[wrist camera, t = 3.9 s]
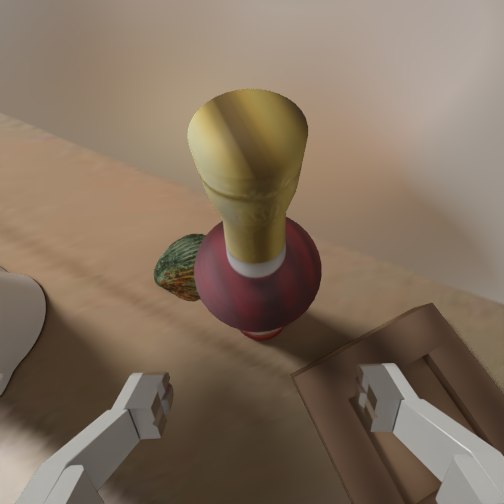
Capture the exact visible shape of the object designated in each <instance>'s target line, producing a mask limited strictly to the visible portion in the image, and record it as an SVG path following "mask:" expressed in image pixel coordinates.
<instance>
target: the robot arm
mask: <svg viewBox="0 0 504 504" xmlns="http://www.w3.org/2000/svg"><path fill="white" fill-rule="evenodd" d="M45 313H46V303H45V297H44V294H43V291H42V289H41V288H40V286H39V285H38V284H37V283H36V282H35V281H34V280H33V279H32V278H30V277H28V276H25V275H22V274H16V273H9V272H6V271H5V270H4V269H3V268H1V267H0V395H1V394H2V393H3V391H4V390H5V388H6V386H7V384H8V382H9V380H10V378H11V375H12V373H13V371H14V369H15V368H16V367H17V365H18V364H19V363H20V362H21V361H22V359H23V358H24V357H25V356H26V355H27V353H28V352H29V351H30V349H31V348H32V347H33V345H34V343H35V342H36V340H37V338H38V336H39V334H40V332H41V329H42V326H43V323H44V319H45ZM355 371H356V374H357V377H356V378H354V392H355V395H356V398H357V401H358V403H359V404H360V405H361V406H362V407H363V408H364V413H363V415H364V417H365V420H366V422H367V424H368V427H369V429H370V431H371V432H393V434H394V435H395V436H396V437H397V438H398V439H399V440H400V441H401V442H402V443H403V444H404V445H405V446H406V447H407V448H408V449H409V450H410V451H411V452H412V453H413V454H414V455H415V456H416V457H417V458H418V459H419V460H420V461H421V462H422V463H423V464H424V465H425V466H426V467H427V468H428V469H429V470H430V471H431V472H432V473H433V474H434V475H435V476H436V477H437V478H438V479H439V480H440V481H441V482H442V484H441V486H440V488H439V491H438V493H437V495H436V498H435V499H436V501H437V503H438V504H504V456H503V455H502V454H501V452H499V451H498V450H496V449H495V448H493V447H492V446H491V445H489V444H488V443H486V442H485V441H483V440H482V439H480V438H479V437H478V436H476V435H475V434H473V433H472V432H470V431H469V430H467V429H466V428H465V427H463V426H462V425H460V424H459V423H457V422H456V421H454V420H453V419H452V418H450V417H449V416H447V415H446V414H444V413H443V412H441V411H440V410H439V409H437V408H436V407H434V406H433V405H431V404H430V403H428V402H427V401H425V400H424V399H419V397H418V396H417V394H416V393H415V392H414V390H413V389H412V387H411V386H410V384H409V383H408V381H407V380H406V378H405V377H404V375H403V374H402V373H401V371H400V370H399V368H398V367H397V365H396V364H394V363H385V364H361V365H357V366H356V370H355ZM169 380H170V376H169V373H167V372H157V373H133V374H131V375H130V376H129V378H128V380H127V382H126V384H125V385H124V387H123V389H122V391H121V393H120V394H119V396H118V398H117V400H116V402H115V403H114V405H113V407H112V409H111V410H107V411H106V412H104V413H103V414H102V415H101V416H100V417H98V418H97V419H96V420H95V421H93V422H92V423H91V424H90V425H89V426H87V427H86V428H85V429H84V430H83V431H81V432H80V433H79V434H78V435H77V436H75V437H74V438H73V439H72V440H70V441H69V442H68V443H67V444H66V445H64V446H63V447H62V448H61V449H60V450H58V451H57V452H56V453H55V454H53V455H52V456H51V457H50V458H49V459H47V460H46V461H45V462H44V463H43V464H41V466H40V467H39V469H38V470H37V471H36V473H35V474H34V476H33V477H32V479H31V480H30V482H29V483H28V485H27V486H26V488H25V489H24V491H23V492H22V493H21V495H20V496H19V498H18V499H17V501H16V502H15V504H104V502H103V500H102V498H101V497H100V495H99V493H98V490H99V489H100V488H101V487H102V486H103V484H104V483H105V482H106V481H107V480H108V478H109V477H110V476H111V475H112V474H113V472H114V471H115V470H116V469H117V468H118V466H119V465H120V464H121V463H122V462H123V461H124V459H125V458H126V457H127V456H128V455H129V453H130V452H131V451H132V450H133V449H134V447H135V446H136V445H137V444H138V443H139V441H140V439H156V438H161V436H162V433H163V430H164V427H165V424H166V417H165V414H166V413H167V412H168V411H169V410H170V408H171V405H172V401H173V387H172V385H171V384H170V383H169Z"/></svg>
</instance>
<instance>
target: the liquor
mask: <svg viewBox="0 0 504 504" xmlns="http://www.w3.org/2000/svg"><path fill="white" fill-rule="evenodd" d="M307 137H308V125H307V121H306V118H305V116H304V114H303V113H302V111H301V110H300V109H299V107H298V106H297V105H296V104H295V103H293V102H292V101H291V100H289V99H288V98H286V97H284V96H282V95H280V94H277V93H274V92H271V91H267V90H260V89H242V90H235V91H231V92H227V93H224V94H222V95H219V96H217V97H215V98H213V99H212V100H210V101H209V102H207V103H206V104H204V105H203V106H202V107H201V108H200V109H199V110H198V111H197V112H196V114H195V115H194V116H193V118H192V120H191V122H190V125H189V129H188V143H189V147H190V150H191V153H192V155H193V158H194V161H195V163H196V166H197V169H198V172H199V175H200V177H201V180H202V183H203V186H204V188H205V191H206V194H207V196H208V198H209V200H210V201H211V203H212V204H213V206H214V208H215V209H216V211H217V212H218V214H219V215H220V217H221V218H222V220H223V221H222V222H220V223H219V224H218V225H216V226H215V227H214V228H213V229H212V230H211V231H210V232H209V233H208V234H207V235H206V237H205V238H204V240H203V241H202V243H201V245H200V247H199V249H198V252H197V254H196V259H195V264H194V280H195V284H196V289H197V292H198V294H199V296H200V298H201V300H202V302H203V303H204V305H205V306H206V307H207V309H208V310H209V311H210V312H211V313H212V314H213V315H214V316H215V317H216V318H218V319H219V320H220V321H222V322H224V323H225V324H227V325H229V326H231V327H234V328H237V329H239V330H240V331H241V332H242V333H243V334H244V335H245V336H247V337H249V338H251V339H255V340H267V339H270V338H272V337H274V336H276V335H277V334H278V333H279V332H280V331H281V330H282V329H283V328H284V326H286V325H288V324H290V323H291V322H293V321H295V320H296V319H298V318H299V317H300V316H301V315H302V314H303V313H304V312H305V311H306V310H307V309H308V308H309V306H310V305H311V303H312V302H313V301H314V299H315V296H316V294H317V292H318V290H319V286H320V281H321V260H320V256H319V252H318V250H317V248H316V245H315V243H314V241H313V240H312V238H311V237H310V236H309V234H308V233H307V232H306V231H305V230H304V229H303V228H302V227H301V226H300V225H299V224H297V223H296V222H294V221H293V220H291V219H290V218H288V217H286V211H287V209H288V206H289V205H290V202H291V200H292V198H293V196H294V194H295V192H296V189H297V185H298V180H299V176H300V171H301V166H302V161H303V157H304V152H305V147H306V142H307Z"/></svg>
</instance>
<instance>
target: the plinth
mask: <svg viewBox="0 0 504 504" xmlns="http://www.w3.org/2000/svg"><path fill="white" fill-rule="evenodd" d="M385 363H394V364H396V365H397V367H398V368H399V370H400V371H401V373H402V374H403V375H404V377H405V378H406V380H407V381H408V383H409V384H410V386H411V387H412V389H413V390H414V392H415V393H416V394H417V396H418V397H419V399H424V400H425V401H427V402H428V403H430V404H431V405H433V406H434V407H436V408H437V409H439V410H440V411H441V412H443V413H444V414H446V415H447V416H449V417H450V418H452V419H453V420H454V421H456V422H457V423H459V424H460V425H462V426H463V427H465V428H466V429H467V430H469V431H470V432H472V433H473V434H475V435H476V436H478V437H479V438H480V439H482V440H483V441H485V442H486V443H488V444H489V445H491V446H492V447H493V448H495V449H496V450H498V451H499V452H501V454H502V455H503V456H504V395H503V394H502V392H501V391H500V390H499V388H498V387H497V386H496V385H495V383H494V382H493V381H492V379H491V378H490V377H489V375H488V374H487V373H486V372H485V370H484V369H483V368H482V366H481V365H480V364H479V363H478V361H477V360H476V359H475V357H474V356H473V355H472V353H471V352H470V351H469V350H468V348H467V347H466V346H465V344H464V343H463V342H462V341H461V339H460V338H459V337H458V335H457V334H456V333H455V331H454V330H453V329H452V328H451V326H450V325H449V324H448V322H447V321H446V320H445V319H444V317H443V316H442V315H441V313H440V312H439V311H438V309H437V308H436V307H435V306H434V304H433V303H429V304H426V305H422V306H419V307H415V308H413V309H411V310H409V311H407V312H405V313H404V314H402V315H400V316H398V317H396V318H394V319H392V320H391V321H389V322H387V323H385V324H383V325H381V326H379V327H378V328H376V329H374V330H372V331H370V332H368V333H366V334H365V335H363V336H361V337H359V338H357V339H355V340H353V341H352V342H350V343H348V344H346V345H344V346H342V347H340V348H339V349H337V350H335V351H333V352H331V353H329V354H328V355H326V356H324V357H322V358H320V359H318V360H316V361H315V362H313V363H311V364H309V365H307V366H305V367H303V368H302V369H300V370H298V371H296V372H294V373H292V374H290V375H291V377H292V379H293V382H294V384H295V386H296V388H297V390H298V392H299V394H300V396H301V398H302V400H303V402H304V405H305V407H306V409H307V411H308V413H309V415H310V417H311V419H312V421H313V423H314V425H315V427H316V430H317V432H318V434H319V436H320V438H321V440H322V442H323V444H324V446H325V448H326V450H327V453H328V455H329V457H330V459H331V461H332V463H333V465H334V467H335V469H336V471H337V473H338V476H339V478H340V480H341V482H342V484H343V486H344V488H345V490H346V492H347V494H348V496H349V499H350V501H351V503H352V504H438V503H437V501H436V499H435V498H436V495H437V493H438V491H439V488H440V486H441V484H442V482H441V481H440V480H439V479H438V478H437V477H436V476H435V475H434V474H433V473H432V472H431V471H430V470H429V469H428V468H427V467H426V466H425V465H424V464H423V463H422V462H421V461H420V460H419V459H418V458H417V457H416V456H415V455H414V454H413V453H412V452H411V451H410V450H409V449H408V448H407V447H406V446H405V445H404V444H403V443H402V442H401V441H400V440H399V439H398V438H397V437H396V436H395V435H394V434H393V432H371V431H370V429H369V427H368V424H367V422H366V420H365V417H364V415H363V413H364V408H363V407H362V406H361V405H360V404H359V403H358V401H357V398H356V395H355V392H354V378H356V377H357V374H356V371H355V370H356V366H357V365H361V364H385Z"/></svg>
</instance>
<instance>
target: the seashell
mask: <svg viewBox="0 0 504 504" xmlns="http://www.w3.org/2000/svg"><path fill="white" fill-rule="evenodd" d="M205 237H206V236H205V235H203V234H190V235H186V236H184V237H182V238H181V239H179V240H177V241H176V242H174V243H173V244H172V245H170V246H169V248H168V250H167V251H166V252H165V253H164V254H163V255H162V256H161V257H160V259H159V261H158V263H157V265H156V267H155V269H154V279H155V282H156V284H157V285H159V286H160V287H163V288H167V289H171V290H172V293H173V294H175V295H176V296H177V297H179V298H182V299H184V300H188V301H196V300H197V299H199V298H200V296H199V294H198V292H197V289H196V284H195V280H194V264H195V259H196V254H197V252H198V249H199V247H200V245H201V243H202V241H203V240H204V238H205Z"/></svg>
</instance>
